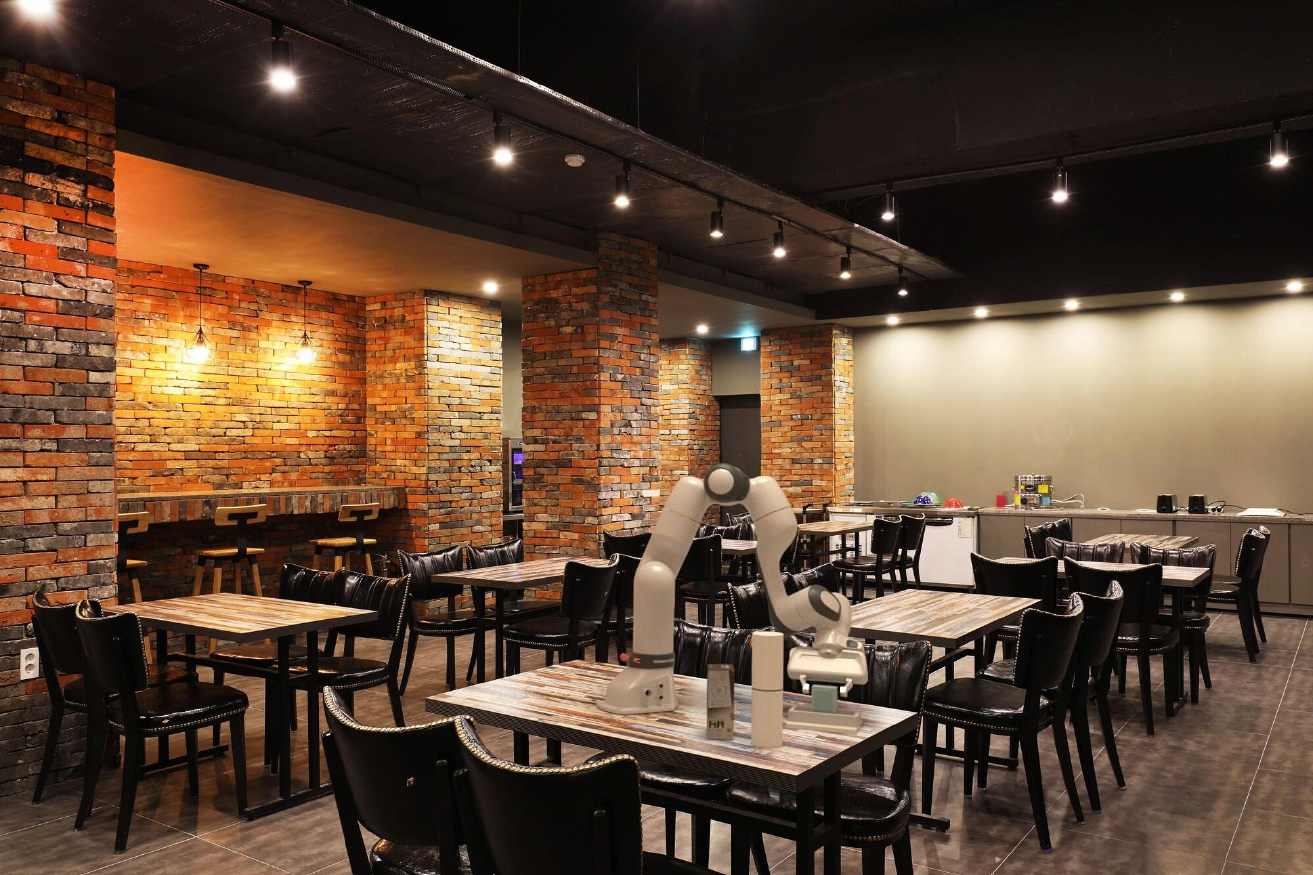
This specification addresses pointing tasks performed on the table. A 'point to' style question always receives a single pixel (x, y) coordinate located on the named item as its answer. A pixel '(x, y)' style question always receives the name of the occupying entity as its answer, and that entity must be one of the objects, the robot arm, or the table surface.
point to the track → (824, 720)
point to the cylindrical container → (767, 689)
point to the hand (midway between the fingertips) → (824, 693)
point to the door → (824, 699)
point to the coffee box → (720, 701)
